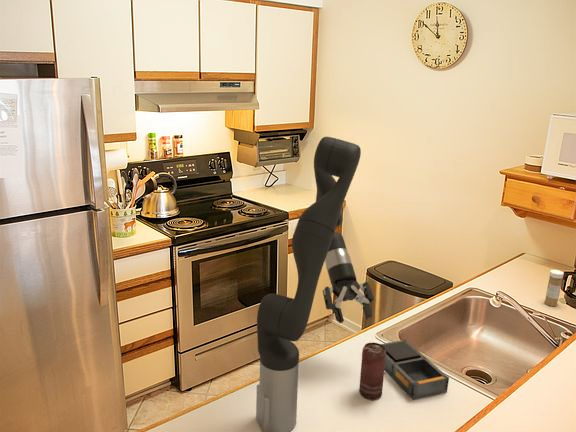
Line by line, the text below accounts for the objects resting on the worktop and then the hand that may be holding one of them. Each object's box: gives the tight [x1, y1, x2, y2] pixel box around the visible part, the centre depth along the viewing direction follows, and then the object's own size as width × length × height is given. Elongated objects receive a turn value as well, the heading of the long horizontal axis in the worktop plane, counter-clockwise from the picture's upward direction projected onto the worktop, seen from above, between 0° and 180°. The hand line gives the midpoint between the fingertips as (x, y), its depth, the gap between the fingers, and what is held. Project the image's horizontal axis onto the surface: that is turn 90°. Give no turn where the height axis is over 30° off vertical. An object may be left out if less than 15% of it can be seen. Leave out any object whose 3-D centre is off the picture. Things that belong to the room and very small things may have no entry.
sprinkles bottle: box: [544, 269, 564, 307], centre depth 193 cm, size 5×5×14 cm
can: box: [358, 342, 386, 401], centre depth 135 cm, size 6×6×14 cm
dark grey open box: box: [380, 339, 450, 401], centre depth 145 cm, size 11×21×5 cm, turn 21°
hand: (355, 320), depth 142 cm, fingers open, 8 cm apart
